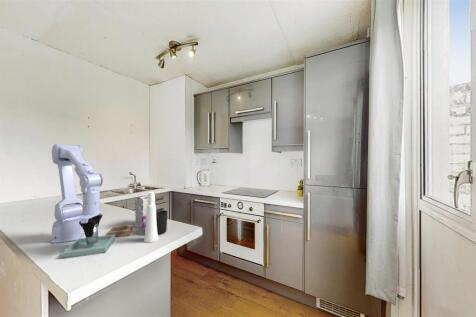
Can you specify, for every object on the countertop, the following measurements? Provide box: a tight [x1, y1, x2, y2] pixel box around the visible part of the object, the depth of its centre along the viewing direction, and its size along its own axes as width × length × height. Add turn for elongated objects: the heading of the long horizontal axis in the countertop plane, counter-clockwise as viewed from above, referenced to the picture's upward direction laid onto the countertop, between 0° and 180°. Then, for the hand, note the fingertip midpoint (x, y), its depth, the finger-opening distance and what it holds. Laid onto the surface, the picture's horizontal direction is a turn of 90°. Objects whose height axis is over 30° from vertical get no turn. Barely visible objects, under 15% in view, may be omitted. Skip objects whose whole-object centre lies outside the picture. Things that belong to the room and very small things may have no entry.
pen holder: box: [156, 209, 168, 236], centre depth 96 cm, size 9×9×10 cm
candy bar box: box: [134, 194, 148, 230], centre depth 107 cm, size 11×5×16 cm, turn 168°
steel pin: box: [85, 223, 99, 245], centre depth 80 cm, size 4×4×8 cm
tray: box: [61, 234, 117, 260], centre depth 80 cm, size 14×14×2 cm
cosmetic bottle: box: [143, 191, 159, 244], centre depth 87 cm, size 6×6×22 cm
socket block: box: [107, 224, 134, 238], centre depth 95 cm, size 9×9×2 cm
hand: (91, 234), depth 80 cm, fingers closed on steel pin, 4 cm apart
